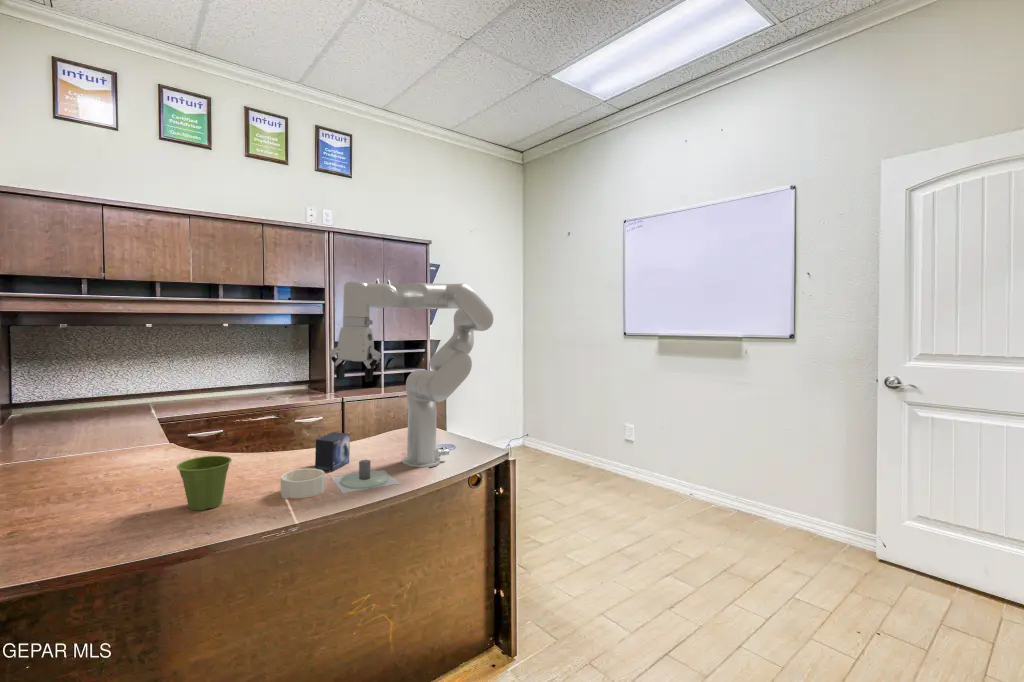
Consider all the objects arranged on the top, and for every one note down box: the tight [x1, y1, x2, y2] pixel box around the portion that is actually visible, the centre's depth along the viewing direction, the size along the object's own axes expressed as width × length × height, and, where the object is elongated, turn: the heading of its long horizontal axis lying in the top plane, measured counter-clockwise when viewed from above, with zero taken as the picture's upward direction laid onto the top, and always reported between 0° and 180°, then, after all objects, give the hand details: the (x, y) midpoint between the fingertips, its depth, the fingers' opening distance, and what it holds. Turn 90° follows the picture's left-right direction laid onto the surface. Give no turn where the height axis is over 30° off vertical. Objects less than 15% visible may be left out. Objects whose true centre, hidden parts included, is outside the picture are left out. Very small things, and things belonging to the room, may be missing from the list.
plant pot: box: [176, 455, 233, 512], centre depth 124 cm, size 12×12×11 cm
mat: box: [330, 469, 399, 494], centre depth 144 cm, size 16×14×1 cm
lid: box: [341, 459, 387, 489], centre depth 144 cm, size 13×13×6 cm
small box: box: [314, 431, 351, 473], centre depth 157 cm, size 11×6×10 cm, turn 168°
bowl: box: [280, 467, 326, 500], centre depth 135 cm, size 11×11×5 cm
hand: (354, 380), depth 147 cm, fingers open, 9 cm apart
